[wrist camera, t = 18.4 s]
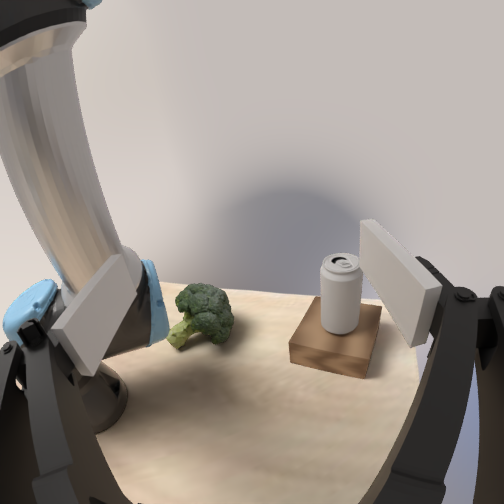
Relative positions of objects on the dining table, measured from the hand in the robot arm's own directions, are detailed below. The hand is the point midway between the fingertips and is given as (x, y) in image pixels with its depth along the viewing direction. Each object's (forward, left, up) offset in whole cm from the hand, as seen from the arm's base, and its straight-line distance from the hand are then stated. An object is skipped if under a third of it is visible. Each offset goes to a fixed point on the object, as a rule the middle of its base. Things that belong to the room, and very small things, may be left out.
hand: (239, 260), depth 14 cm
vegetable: (-25, +17, -30) cm, 43 cm away
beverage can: (0, +24, -25) cm, 35 cm away
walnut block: (0, +24, -30) cm, 39 cm away
